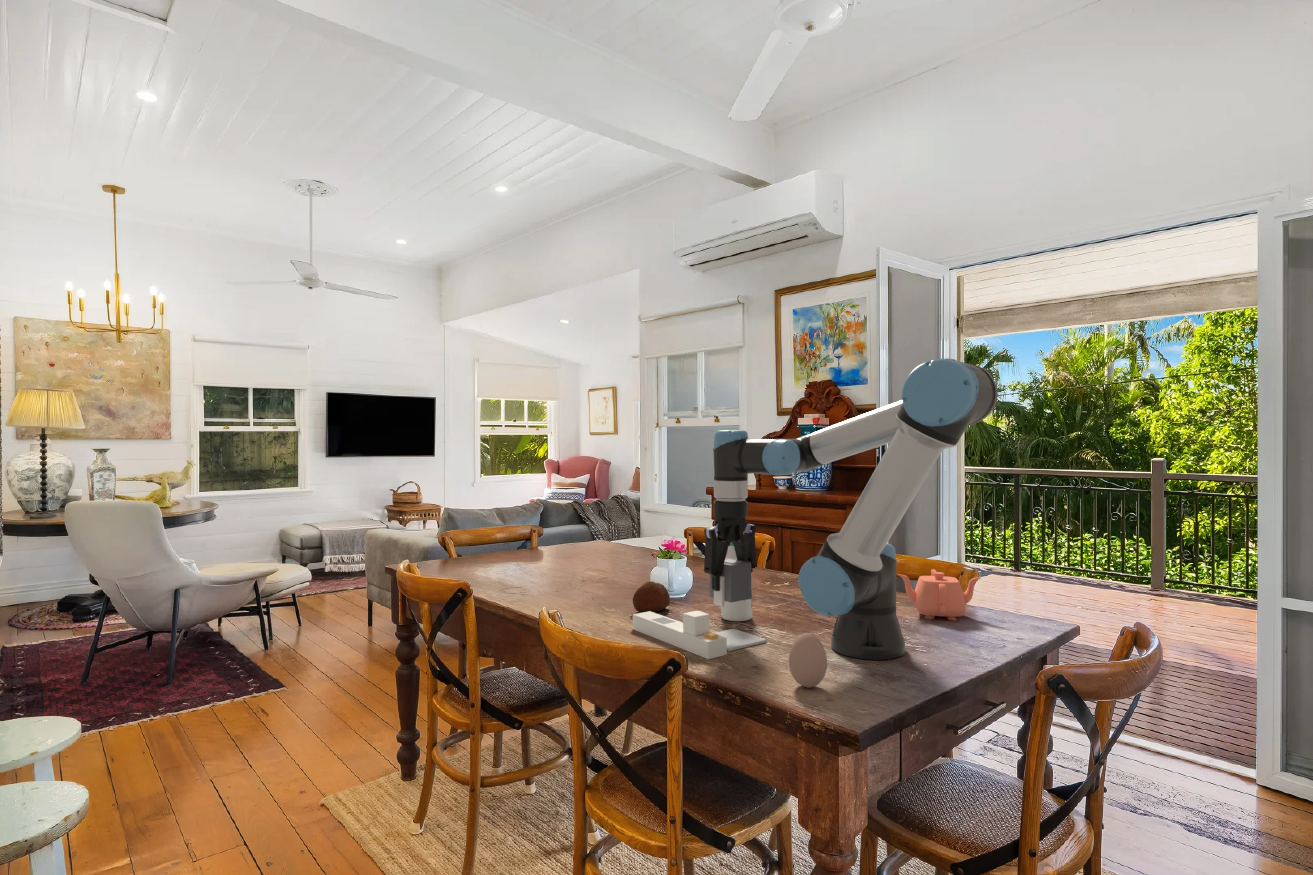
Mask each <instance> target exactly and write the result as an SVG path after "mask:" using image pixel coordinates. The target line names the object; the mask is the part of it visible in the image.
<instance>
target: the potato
mask: <svg viewBox="0 0 1313 875" xmlns="http://www.w3.org/2000/svg"><path fill="white" fill-rule="evenodd" d="M670 602H671V597H670V594H669V590H668V589H667V588H666V586H665V585H664V584H662V583H659V582H655V581H646V582H645V583H644V584H642V585H641V586H638V588H637V589H636V590H635V592H634V593H633V596H632V606H633V608H634V609H635V611H637V612H638V613H643V612H649V611H651V612H654V613H656V612H658V611H663V610H664V609H666V608H668V607H669V606H670Z"/></svg>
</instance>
